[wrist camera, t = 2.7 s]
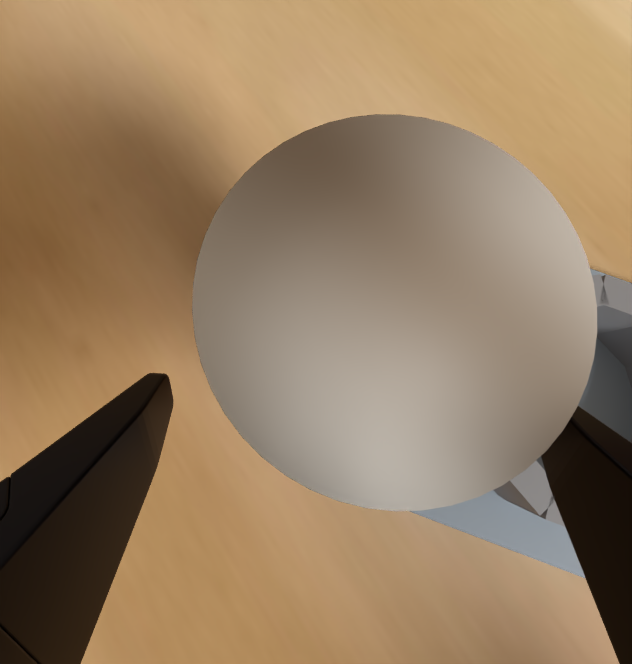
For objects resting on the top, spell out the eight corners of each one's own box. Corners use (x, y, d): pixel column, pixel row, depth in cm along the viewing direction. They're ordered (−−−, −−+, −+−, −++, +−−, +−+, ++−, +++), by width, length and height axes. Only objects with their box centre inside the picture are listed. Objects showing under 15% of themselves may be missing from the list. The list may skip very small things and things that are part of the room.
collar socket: (634, 592, 17) (737, 651, 13) (374, 493, 18) (396, 521, 14) (690, 318, 20) (793, 296, 16) (458, 235, 20) (498, 192, 16)
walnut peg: (341, 462, 18) (435, 611, 5) (241, 375, 19) (104, 317, 6) (422, 360, 19) (672, 275, 6) (324, 280, 19) (367, 46, 7)
